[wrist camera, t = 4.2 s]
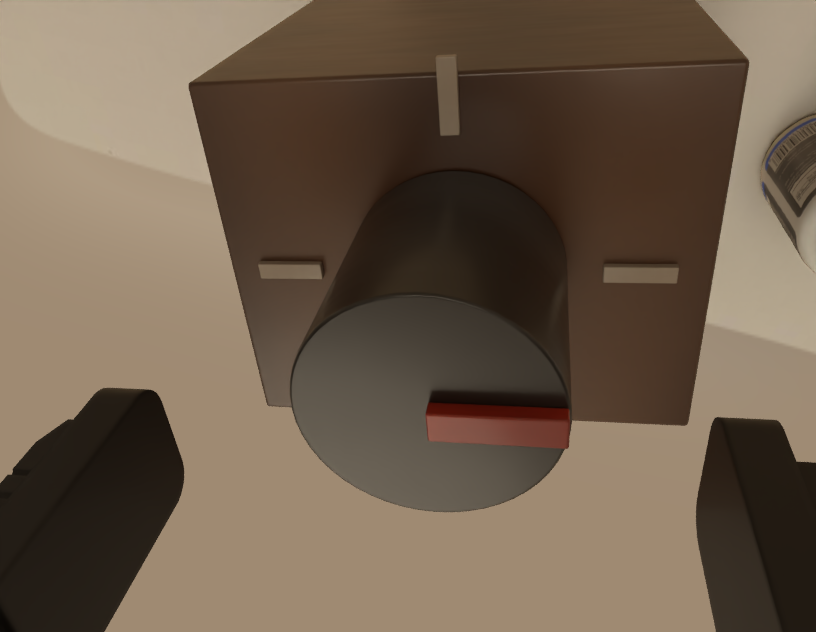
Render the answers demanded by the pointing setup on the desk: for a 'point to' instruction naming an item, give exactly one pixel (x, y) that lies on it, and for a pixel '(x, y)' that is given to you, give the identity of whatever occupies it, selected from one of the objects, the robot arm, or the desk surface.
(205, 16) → the desk surface
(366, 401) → the rotary dial knob
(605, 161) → the block
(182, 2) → the desk surface
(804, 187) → the pill bottle
